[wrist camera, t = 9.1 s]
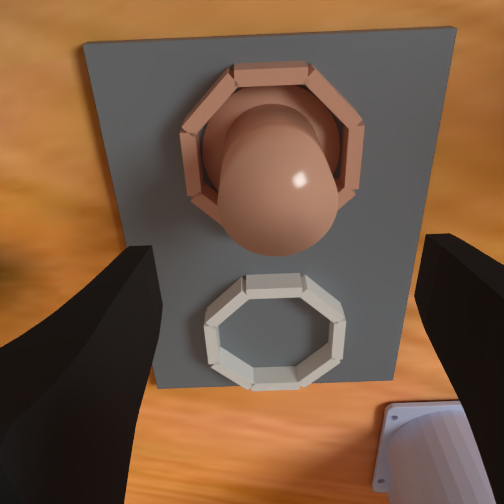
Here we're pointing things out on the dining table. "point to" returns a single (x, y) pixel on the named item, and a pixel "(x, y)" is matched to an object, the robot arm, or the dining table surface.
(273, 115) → the beige rounded cylinder
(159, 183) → the grey board with rings
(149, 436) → the dining table surface
